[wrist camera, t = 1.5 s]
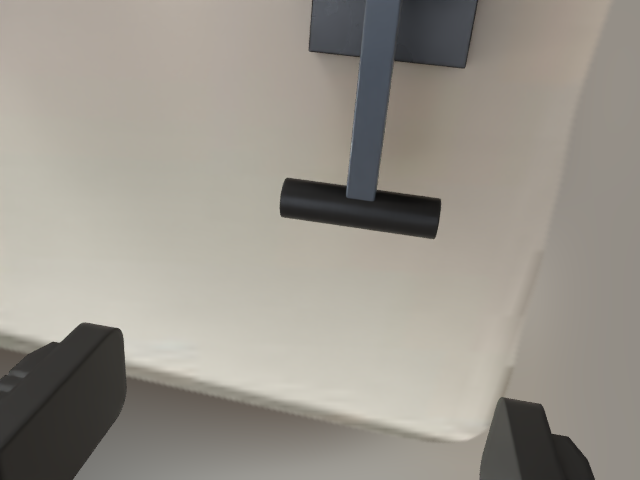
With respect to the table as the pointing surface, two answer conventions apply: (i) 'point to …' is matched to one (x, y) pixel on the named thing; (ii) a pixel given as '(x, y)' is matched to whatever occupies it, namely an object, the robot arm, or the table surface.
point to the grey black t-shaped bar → (366, 150)
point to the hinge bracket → (413, 33)
